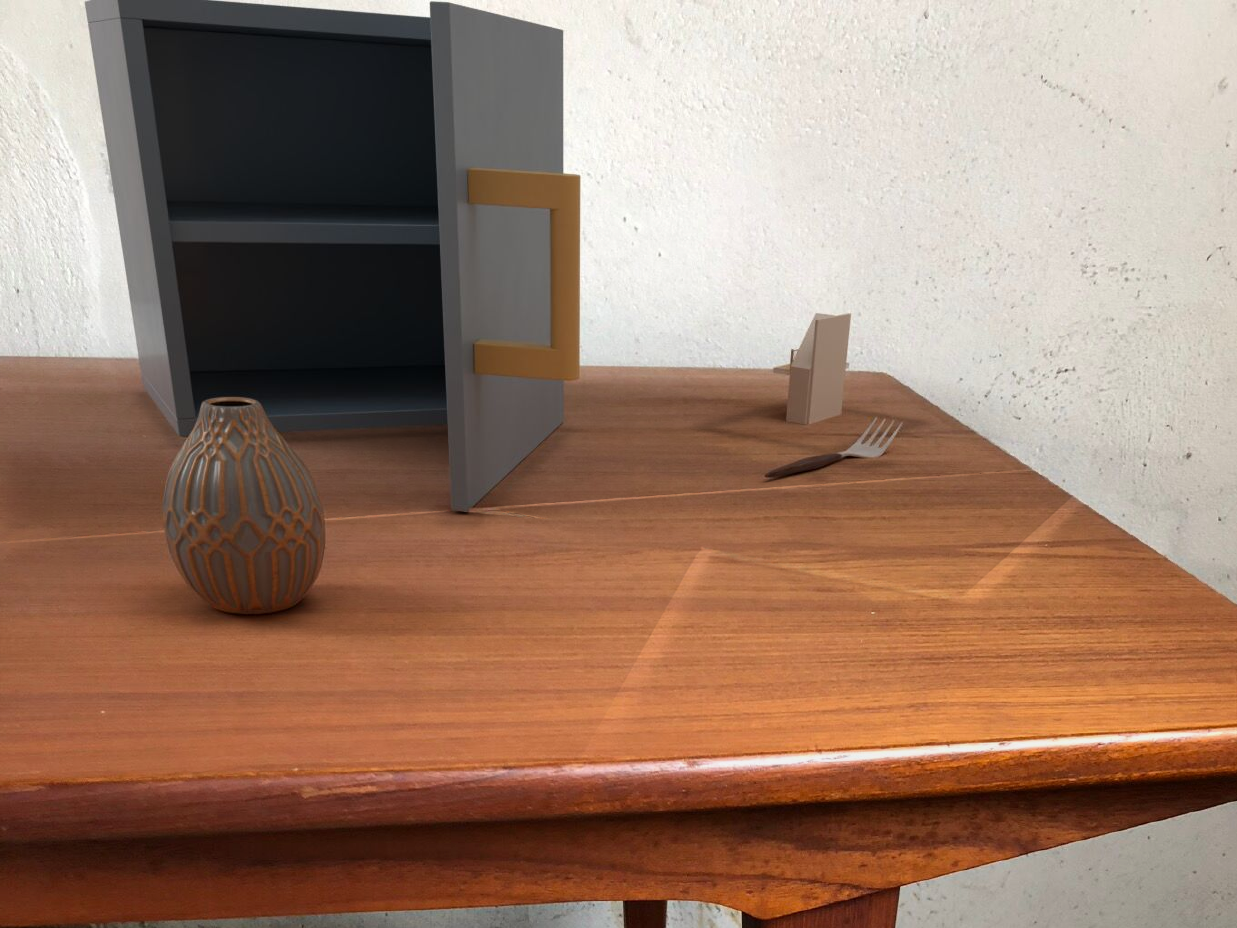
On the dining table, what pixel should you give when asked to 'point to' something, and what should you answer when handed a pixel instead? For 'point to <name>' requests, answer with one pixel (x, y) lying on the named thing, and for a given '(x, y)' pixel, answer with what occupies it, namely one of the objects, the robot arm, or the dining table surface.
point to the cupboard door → (503, 240)
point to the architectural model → (818, 370)
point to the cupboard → (277, 208)
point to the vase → (243, 512)
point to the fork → (840, 453)
